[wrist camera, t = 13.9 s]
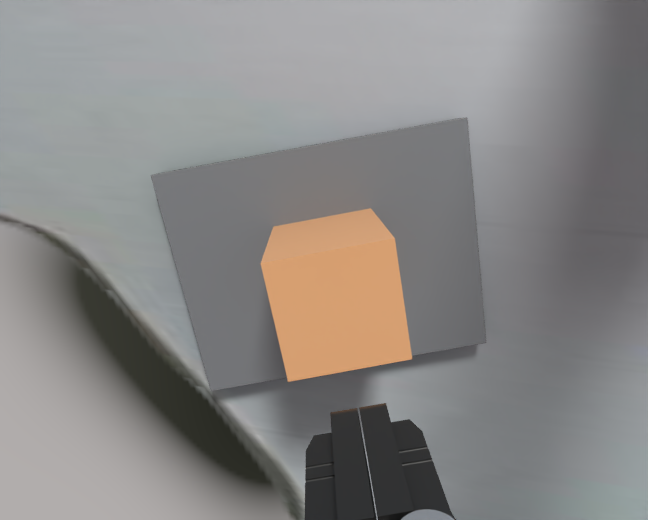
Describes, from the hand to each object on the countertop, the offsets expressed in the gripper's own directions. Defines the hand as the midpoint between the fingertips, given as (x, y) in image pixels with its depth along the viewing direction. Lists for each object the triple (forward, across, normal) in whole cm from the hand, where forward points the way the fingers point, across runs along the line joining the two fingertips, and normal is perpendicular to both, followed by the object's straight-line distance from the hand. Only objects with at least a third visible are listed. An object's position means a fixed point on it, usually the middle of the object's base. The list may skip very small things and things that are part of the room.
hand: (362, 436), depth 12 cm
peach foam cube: (+16, 0, 0) cm, 16 cm away
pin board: (+17, 0, 0) cm, 17 cm away
